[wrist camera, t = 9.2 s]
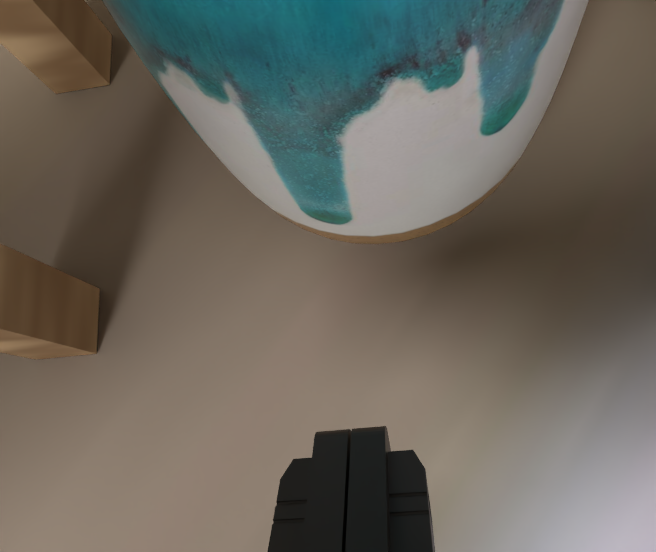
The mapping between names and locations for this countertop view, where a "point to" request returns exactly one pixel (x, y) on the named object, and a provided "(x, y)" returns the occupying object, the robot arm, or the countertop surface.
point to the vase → (359, 99)
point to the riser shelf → (10, 265)
